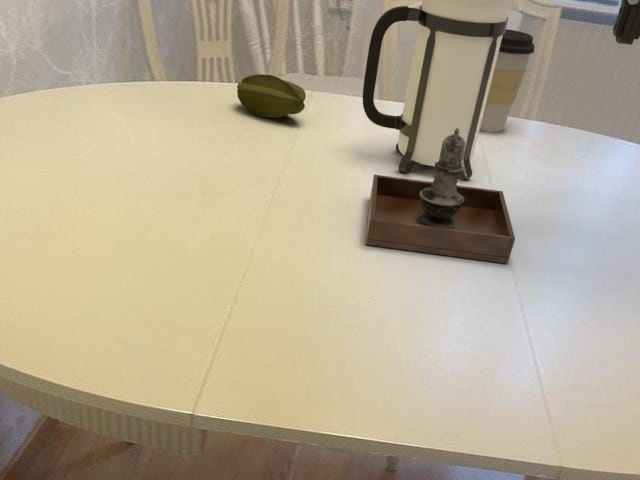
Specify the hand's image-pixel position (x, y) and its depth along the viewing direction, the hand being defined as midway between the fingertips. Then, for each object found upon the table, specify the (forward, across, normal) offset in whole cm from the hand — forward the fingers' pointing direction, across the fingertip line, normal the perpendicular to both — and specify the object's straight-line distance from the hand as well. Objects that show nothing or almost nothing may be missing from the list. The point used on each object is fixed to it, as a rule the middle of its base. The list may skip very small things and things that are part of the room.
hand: (623, 42), depth 85 cm
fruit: (+24, -44, +40) cm, 64 cm away
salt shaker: (+23, -16, 0) cm, 28 cm away
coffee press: (+24, -17, +25) cm, 39 cm away
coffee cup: (+24, -5, +50) cm, 56 cm away
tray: (+24, -16, 0) cm, 29 cm away
